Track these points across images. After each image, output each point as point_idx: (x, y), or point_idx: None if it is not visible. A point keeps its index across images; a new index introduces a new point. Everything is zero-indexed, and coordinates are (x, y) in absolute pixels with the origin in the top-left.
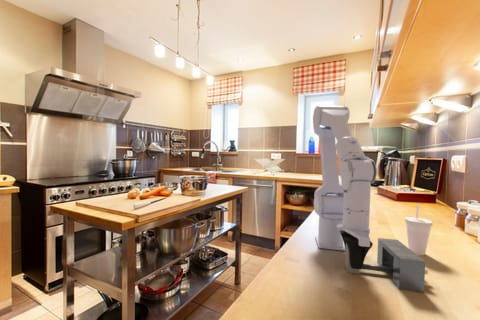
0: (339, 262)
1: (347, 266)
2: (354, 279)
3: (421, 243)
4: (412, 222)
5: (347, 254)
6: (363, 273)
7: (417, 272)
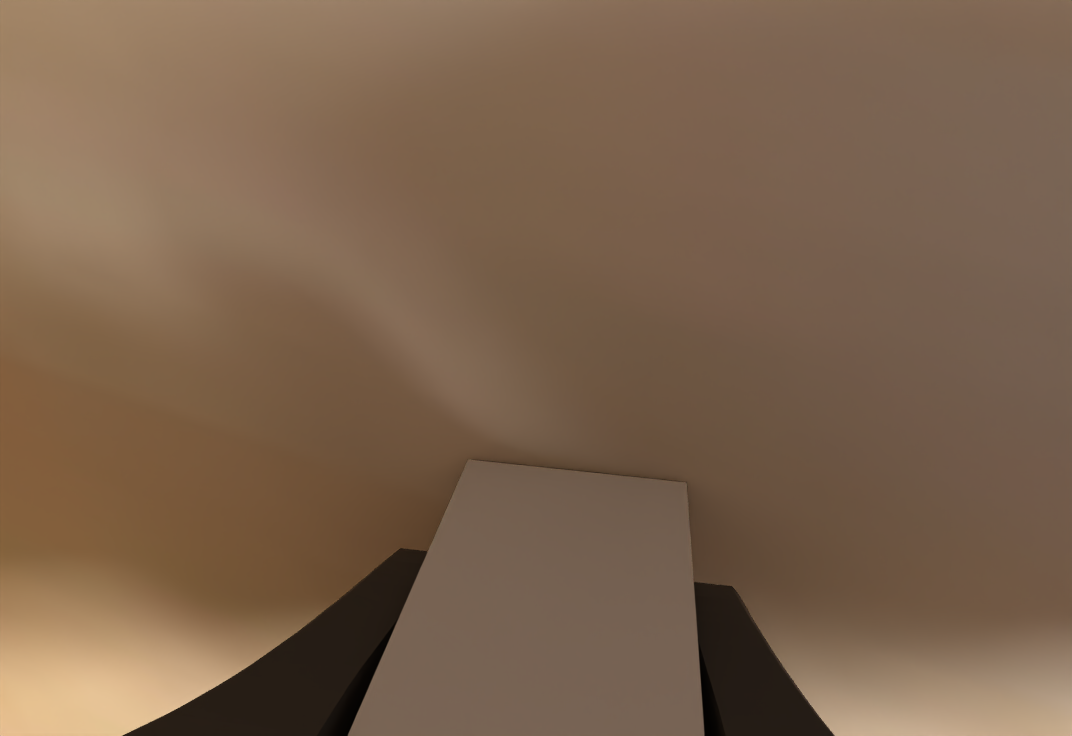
0: (844, 434)
1: (506, 502)
2: (274, 480)
3: None
4: None
5: (502, 639)
6: None
7: None
